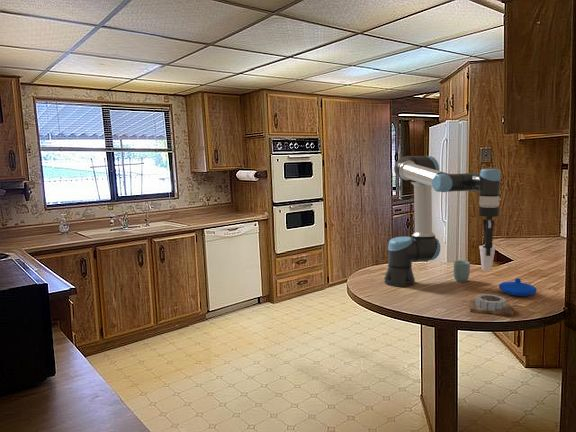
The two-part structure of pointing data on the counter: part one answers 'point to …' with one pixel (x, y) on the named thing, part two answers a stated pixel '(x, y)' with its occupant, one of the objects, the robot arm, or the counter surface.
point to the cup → (461, 270)
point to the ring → (490, 302)
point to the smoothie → (484, 265)
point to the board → (504, 312)
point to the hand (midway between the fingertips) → (487, 261)
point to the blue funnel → (517, 288)
